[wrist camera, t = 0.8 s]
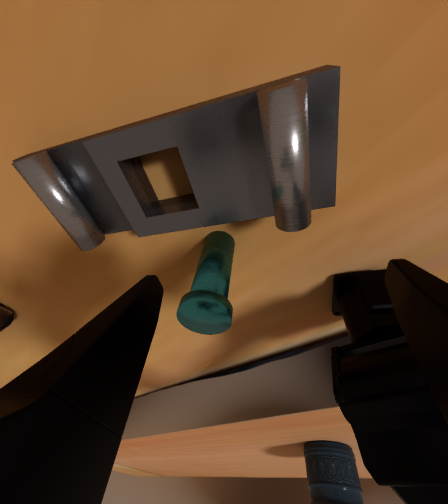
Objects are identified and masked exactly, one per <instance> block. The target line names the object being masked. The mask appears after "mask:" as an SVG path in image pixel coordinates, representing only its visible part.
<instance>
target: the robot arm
mask: <svg viewBox="0 0 448 504" xmlns="http://www.w3.org/2000/svg"><path fill="white" fill-rule="evenodd" d="M338 279H339V280H338ZM162 298H163V287H162V285H161V283H160V281H159V279H158V277H157V276H156V275H147V276H145V277H144V278H143V279H141V280H140V281H139V282H138V283H136V284H135V285H134V286H133V287H132V288H130V289H129V290H128V291H127V292H125V293H124V294H123V295H122V296H120V297H119V298H118V299H117V300H115V301H114V302H113V303H112V304H110V305H109V306H108V307H107V308H106V309H104V310H103V311H102V312H101V313H99V314H98V315H97V316H96V317H94V318H93V319H92V320H91V321H89V322H88V323H87V324H86V325H84V326H83V327H82V328H81V329H79V330H78V331H77V332H76V334H73V335H72V336H71V337H70V338H68V339H67V340H66V341H65V342H63V343H62V344H61V345H59V346H58V347H57V348H56V349H54V350H53V351H52V352H50V353H49V354H48V355H46V356H45V357H44V358H42V359H41V360H40V361H38V362H37V363H35V364H34V365H33V366H31V367H30V368H29V369H27V370H26V371H24V372H23V373H22V374H20V375H19V376H17V377H16V378H15V379H13V380H12V381H11V382H9V383H8V384H6V385H5V386H4V387H2V388H1V389H0V504H101V502H102V499H103V496H104V493H105V490H106V487H107V483H108V480H109V477H110V474H111V471H112V468H113V464H114V461H115V458H116V455H117V452H118V448H119V445H120V442H121V437H122V435H123V431H124V429H125V425H126V422H127V419H128V416H129V413H130V409H131V406H132V403H133V400H134V397H135V394H136V390H137V387H138V384H139V381H140V378H141V374H142V371H143V368H144V365H145V362H146V358H147V355H148V352H149V349H150V346H151V342H152V339H153V336H154V333H155V330H156V326H157V322H158V318H159V313H160V308H161V303H162ZM332 312H333V315H335V316H343V319H344V322H345V325H346V329H347V332H348V335H349V338H350V341H351V343H350V344H346V345H343V346H339V347H337V346H336V347H332V348H331V351H332V352H331V353H332V356H331V361H332V377H333V391H334V395H335V400H336V403H337V404H338V405H339V407H340V409H341V411H342V413H343V415H344V417H345V418H346V420H347V421H348V422H349V423H350V424H351V426H352V429H353V431H354V434H355V437H356V440H357V443H358V446H359V450H360V453H361V456H362V460H363V463H364V466H365V467H366V469H367V470H368V472H369V473H370V474H371V476H372V477H373V479H374V480H375V481H376V483H377V484H378V485H380V486H390V487H391V488H392V489H393V490H394V491H395V492H396V493H397V495H398V496H399V497H400V498H401V499H402V500H403V502H405V504H448V283H446V282H445V281H443V280H441V279H439V278H438V277H436V276H434V275H432V274H430V273H429V272H427V271H425V270H423V269H422V268H420V267H418V266H416V265H415V264H413V263H411V262H409V261H408V260H406V259H392V260H390V261H389V263H388V266H387V270H384V271H373V272H362V273H351V274H340V275H336V276H334V278H333V299H332Z"/></svg>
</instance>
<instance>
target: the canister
mask: <svg viewBox="0 0 448 504" xmlns="http://www.w3.org/2000/svg"><path fill="white" fill-rule="evenodd" d="M304 457H305V462H306V471H307V480H308V488H309V489H310V494H311V502H310V504H363V498H362V494H363V491H362V488H361V484H360V480H359V475H358V471H357V467H356V462H355V461H356V459H355V455H354V453H353V451H352V448H351V447H349V446H348V445H345V444H341V443H337V442H330V441H314V442H308V443H306V444H305V445H304Z"/></svg>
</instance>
